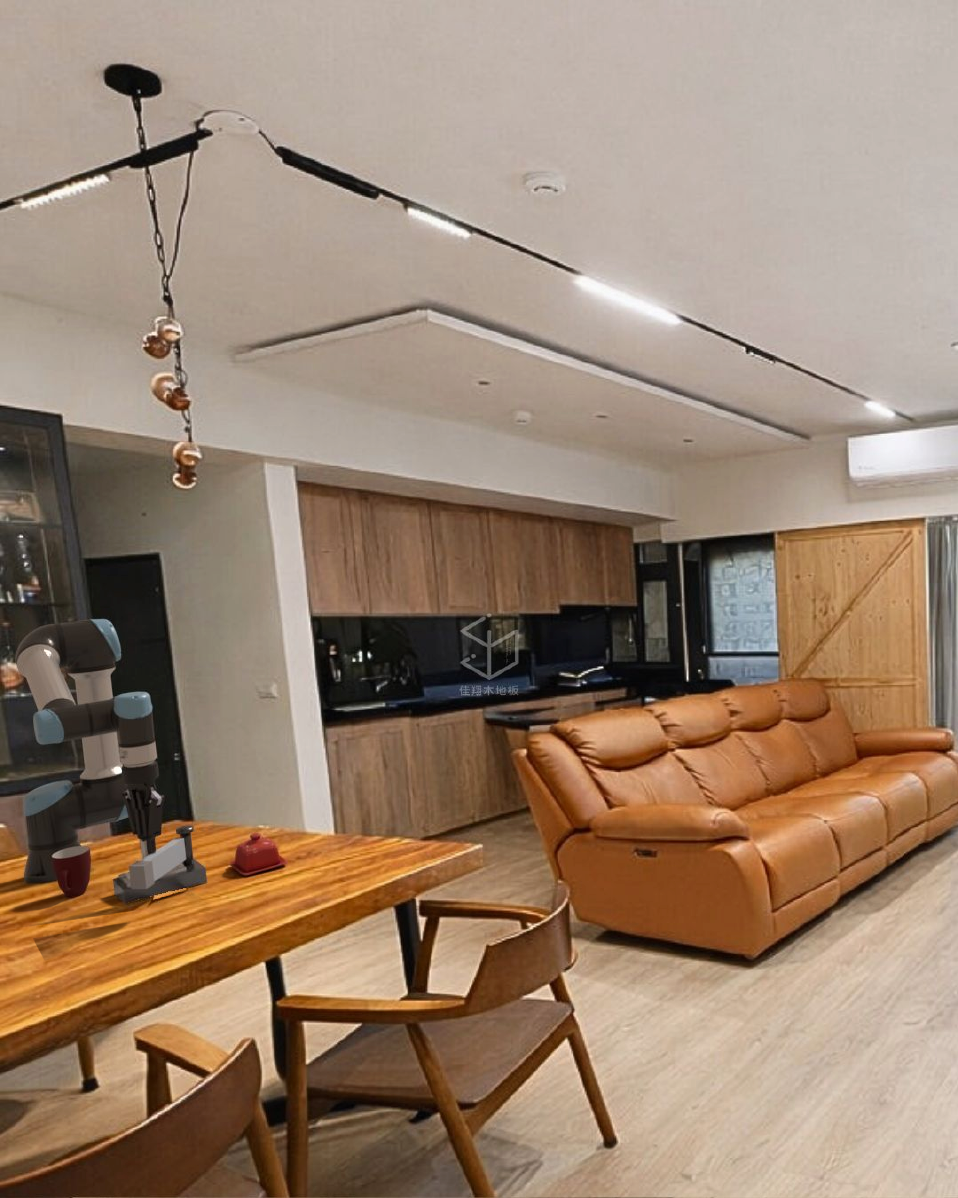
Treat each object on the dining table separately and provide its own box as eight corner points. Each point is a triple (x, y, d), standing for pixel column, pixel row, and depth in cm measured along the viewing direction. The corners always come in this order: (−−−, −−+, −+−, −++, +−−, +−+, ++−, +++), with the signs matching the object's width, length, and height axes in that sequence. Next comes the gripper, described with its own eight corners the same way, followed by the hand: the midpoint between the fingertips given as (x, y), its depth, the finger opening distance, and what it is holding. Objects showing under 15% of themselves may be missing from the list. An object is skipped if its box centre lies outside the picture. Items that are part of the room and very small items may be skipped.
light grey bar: (175, 859, 200) (172, 838, 200) (189, 859, 199) (186, 838, 199) (131, 889, 183) (128, 866, 183) (146, 889, 183) (143, 866, 182)
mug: (88, 902, 194) (82, 858, 194) (49, 908, 193) (44, 864, 192) (98, 884, 205) (93, 843, 204) (61, 890, 203) (56, 849, 202)
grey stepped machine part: (114, 896, 196) (108, 843, 195) (193, 873, 207) (187, 822, 206) (126, 909, 188) (119, 853, 187) (207, 884, 199) (201, 831, 198)
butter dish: (290, 867, 206) (286, 832, 206) (243, 881, 200) (240, 845, 199) (272, 855, 216) (268, 822, 215) (227, 868, 209) (223, 834, 208)
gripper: (106, 764, 190) (118, 868, 192) (141, 770, 183) (152, 877, 184) (137, 756, 196) (147, 856, 198) (171, 761, 189) (182, 865, 191)
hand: (150, 866), depth 191 cm, fingers closed
